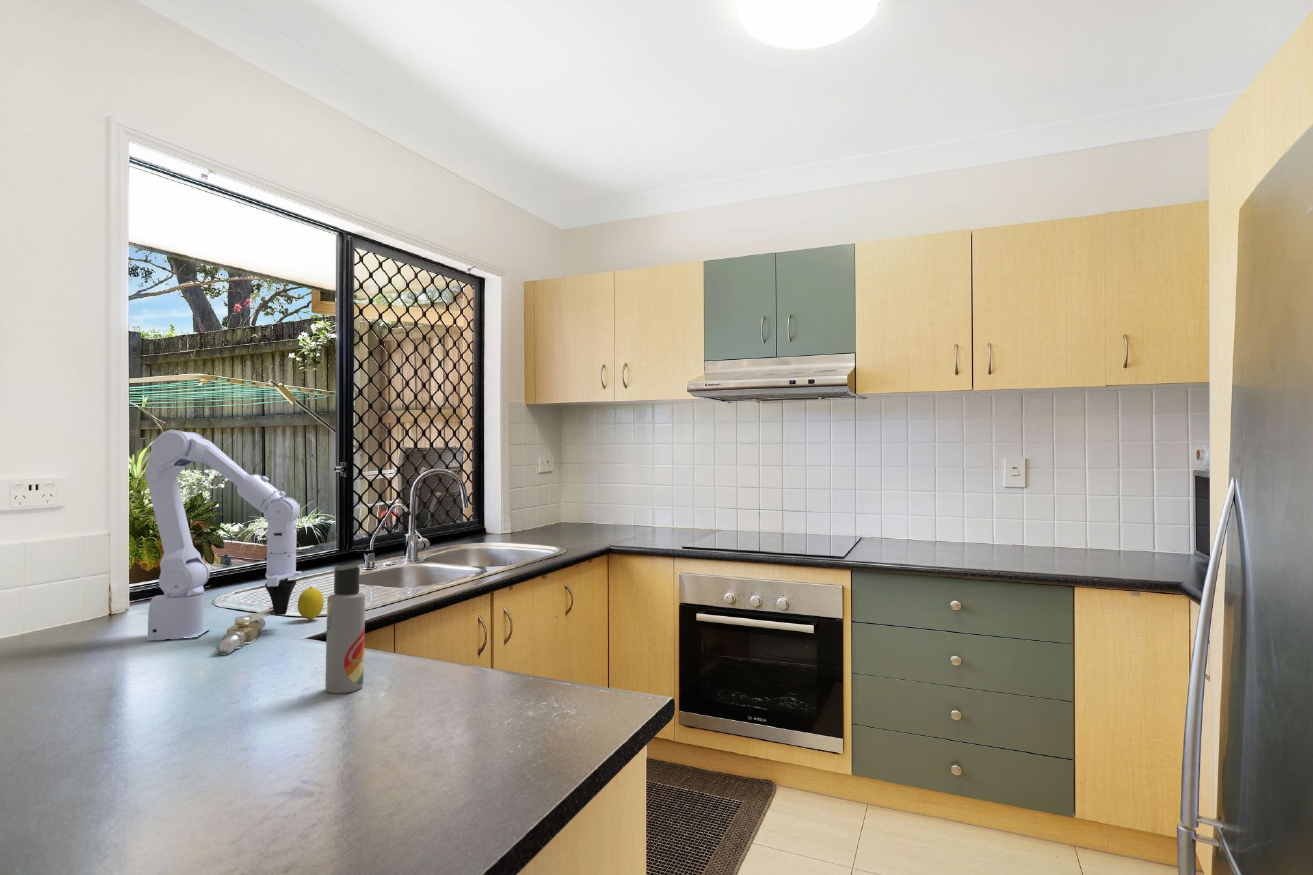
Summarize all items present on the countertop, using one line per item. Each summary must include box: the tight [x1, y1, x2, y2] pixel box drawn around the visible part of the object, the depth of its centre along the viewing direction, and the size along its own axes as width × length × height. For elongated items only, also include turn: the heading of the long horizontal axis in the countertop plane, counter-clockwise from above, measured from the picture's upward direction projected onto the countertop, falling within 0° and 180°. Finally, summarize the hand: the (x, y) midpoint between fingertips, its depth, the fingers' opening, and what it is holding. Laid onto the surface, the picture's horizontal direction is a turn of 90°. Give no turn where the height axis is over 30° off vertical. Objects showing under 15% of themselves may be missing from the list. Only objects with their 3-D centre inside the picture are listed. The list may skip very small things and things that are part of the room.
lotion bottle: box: [324, 563, 366, 695], centre depth 114 cm, size 6×6×20 cm
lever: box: [234, 606, 275, 625], centre depth 151 cm, size 14×3×1 cm, turn 175°
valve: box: [216, 618, 266, 655], centre depth 145 cm, size 22×4×4 cm, turn 15°
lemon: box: [297, 586, 324, 621], centre depth 166 cm, size 6×6×8 cm
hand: (280, 614), depth 154 cm, fingers closed, pressing on lever
